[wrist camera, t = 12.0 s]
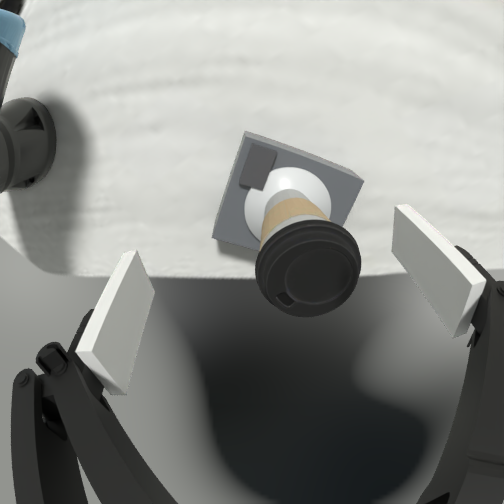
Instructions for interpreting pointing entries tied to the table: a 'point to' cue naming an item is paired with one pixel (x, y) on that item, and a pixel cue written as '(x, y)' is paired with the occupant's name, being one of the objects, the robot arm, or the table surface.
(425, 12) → the table surface
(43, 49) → the table surface
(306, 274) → the coffee cup
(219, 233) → the grey dome button box
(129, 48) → the table surface
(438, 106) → the table surface
